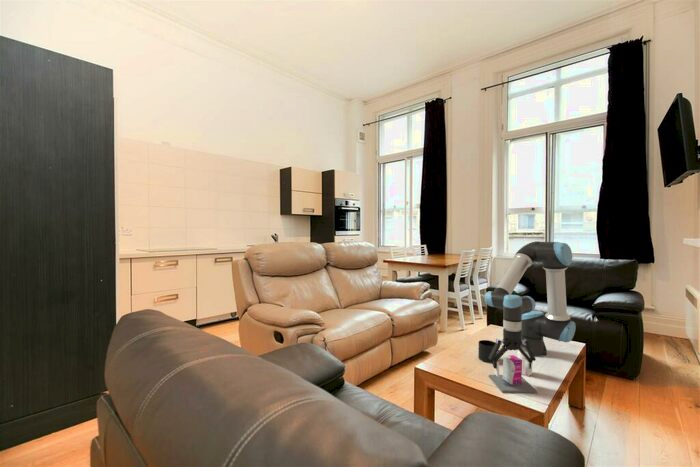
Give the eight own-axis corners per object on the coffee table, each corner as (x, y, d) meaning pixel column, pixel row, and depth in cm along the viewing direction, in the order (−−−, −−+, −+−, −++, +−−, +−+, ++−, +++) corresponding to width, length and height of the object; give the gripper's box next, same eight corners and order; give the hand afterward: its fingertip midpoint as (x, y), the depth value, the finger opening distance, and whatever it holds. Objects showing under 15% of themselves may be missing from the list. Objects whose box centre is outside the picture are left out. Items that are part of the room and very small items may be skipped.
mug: (496, 366, 169) (496, 349, 168) (475, 358, 178) (475, 342, 178) (505, 361, 175) (505, 344, 174) (483, 354, 184) (484, 338, 184)
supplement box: (510, 386, 146) (511, 360, 145) (502, 379, 151) (502, 355, 151) (522, 384, 147) (522, 359, 147) (513, 378, 153) (513, 354, 152)
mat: (520, 377, 156) (520, 375, 156) (537, 393, 141) (537, 390, 141) (488, 376, 157) (488, 374, 157) (502, 392, 142) (502, 390, 142)
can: (527, 369, 164) (527, 346, 164) (535, 375, 158) (535, 351, 157) (514, 370, 164) (515, 346, 164) (522, 376, 158) (522, 351, 157)
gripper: (487, 331, 145) (487, 378, 146) (544, 332, 144) (544, 379, 145) (481, 326, 153) (481, 371, 153) (535, 326, 152) (534, 371, 153)
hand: (511, 375), depth 149 cm, fingers open, 13 cm apart
